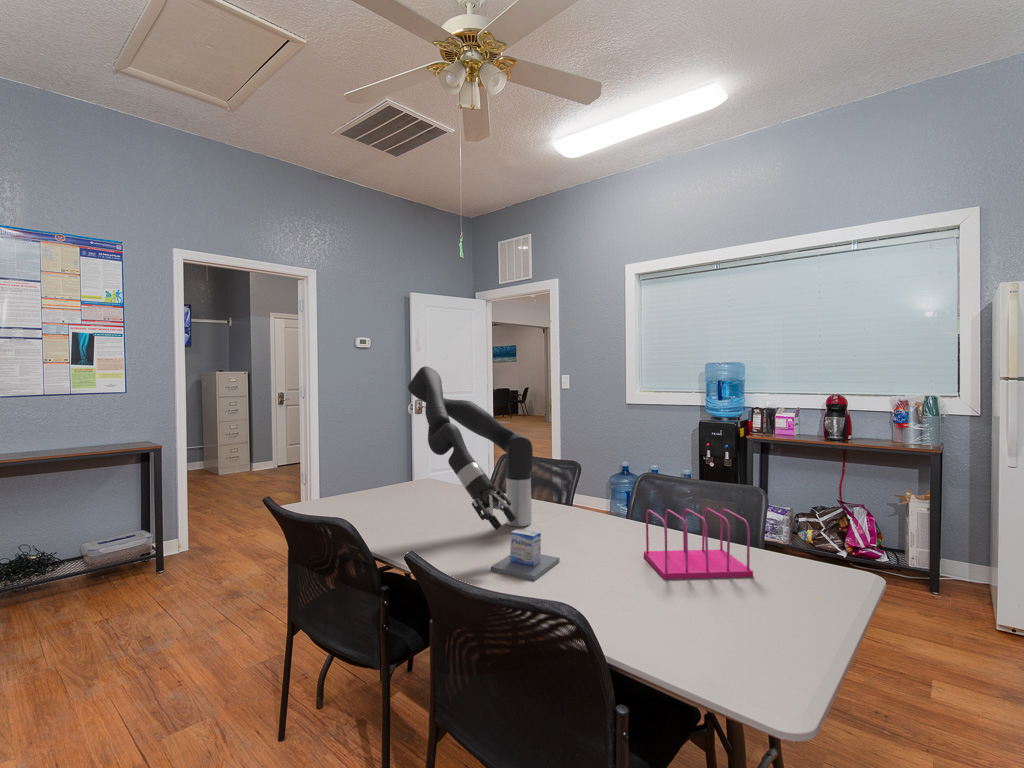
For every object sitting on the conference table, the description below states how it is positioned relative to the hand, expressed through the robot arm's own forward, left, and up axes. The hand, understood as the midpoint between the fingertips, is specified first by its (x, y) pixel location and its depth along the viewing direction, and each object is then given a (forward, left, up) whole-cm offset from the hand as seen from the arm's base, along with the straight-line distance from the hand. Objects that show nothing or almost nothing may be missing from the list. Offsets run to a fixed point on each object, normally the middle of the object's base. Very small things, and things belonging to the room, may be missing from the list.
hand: (506, 524), depth 148 cm
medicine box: (-1, +6, -10) cm, 12 cm away
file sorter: (-25, +49, -12) cm, 56 cm away
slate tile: (-1, +6, -11) cm, 13 cm away
